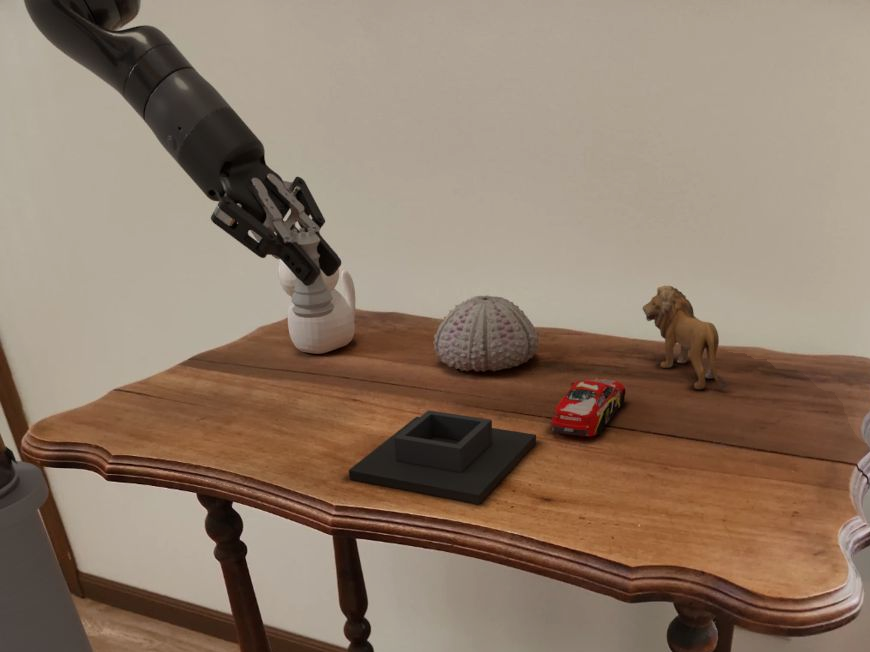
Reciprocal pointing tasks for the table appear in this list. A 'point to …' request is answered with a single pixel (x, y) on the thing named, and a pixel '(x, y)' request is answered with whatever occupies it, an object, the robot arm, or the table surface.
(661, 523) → the table surface
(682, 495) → the table surface
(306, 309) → the rook chess piece
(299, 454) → the table surface
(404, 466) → the socket pad
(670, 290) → the lion figurine
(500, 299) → the sea urchin shell
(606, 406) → the race car
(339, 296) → the cat figurine
